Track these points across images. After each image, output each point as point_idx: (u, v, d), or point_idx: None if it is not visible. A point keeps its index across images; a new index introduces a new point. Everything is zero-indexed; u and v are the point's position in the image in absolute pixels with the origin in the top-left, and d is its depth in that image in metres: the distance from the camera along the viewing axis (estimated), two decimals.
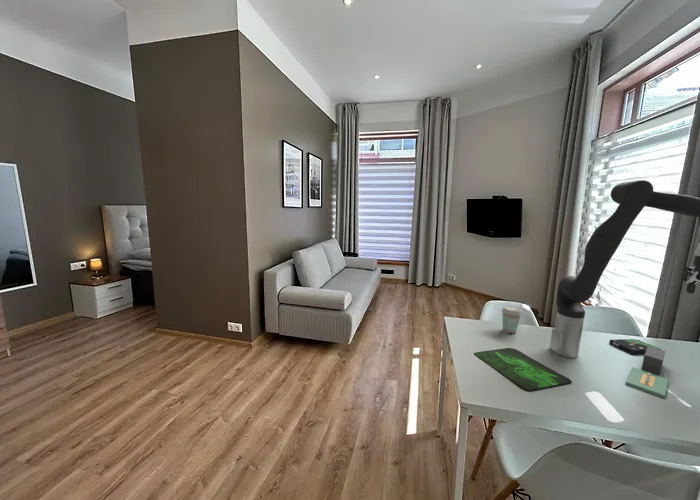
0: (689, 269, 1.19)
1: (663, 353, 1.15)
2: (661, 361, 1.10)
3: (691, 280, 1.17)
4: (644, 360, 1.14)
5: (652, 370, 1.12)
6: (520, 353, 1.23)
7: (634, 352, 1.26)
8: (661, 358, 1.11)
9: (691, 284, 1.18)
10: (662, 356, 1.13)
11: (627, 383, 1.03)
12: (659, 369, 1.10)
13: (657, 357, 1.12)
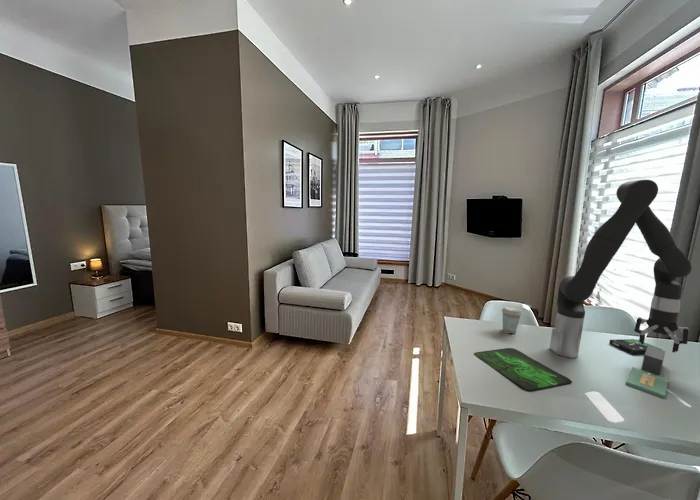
0: (641, 320, 1.17)
1: (663, 353, 1.15)
2: (661, 361, 1.10)
3: (646, 332, 1.16)
4: (644, 360, 1.14)
5: (652, 370, 1.12)
6: (520, 353, 1.23)
7: (634, 352, 1.26)
8: (661, 358, 1.11)
9: (644, 335, 1.17)
10: (662, 356, 1.13)
11: (627, 383, 1.03)
12: (659, 369, 1.10)
13: (657, 357, 1.12)
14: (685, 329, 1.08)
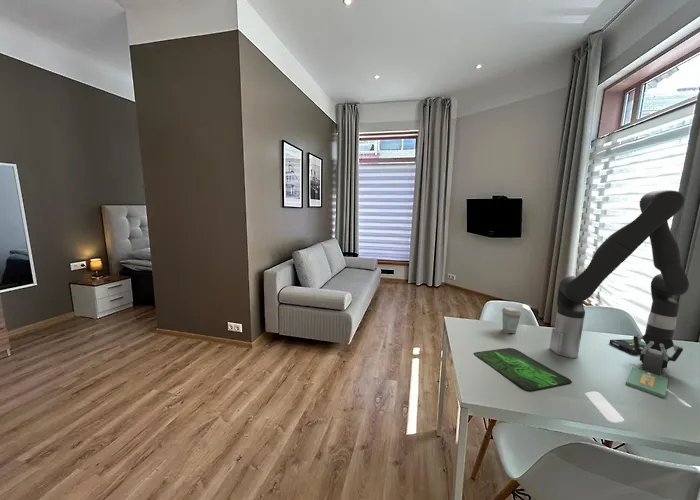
0: (637, 338, 1.18)
1: None
2: (661, 361, 1.10)
3: (646, 350, 1.16)
4: (644, 360, 1.14)
5: (652, 370, 1.12)
6: (520, 353, 1.23)
7: (634, 352, 1.26)
8: (661, 358, 1.11)
9: None
10: (662, 356, 1.13)
11: (627, 383, 1.03)
12: (659, 369, 1.10)
13: (657, 357, 1.12)
14: (680, 349, 1.09)
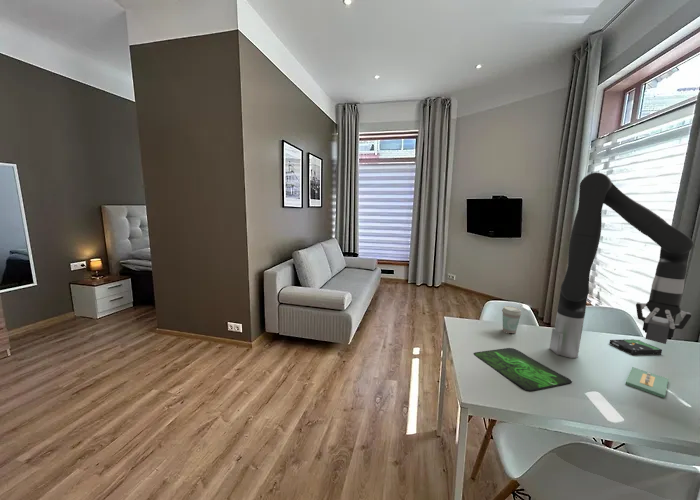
0: (640, 305, 1.07)
1: None
2: (667, 328, 0.99)
3: (650, 318, 1.05)
4: (648, 329, 1.02)
5: (657, 339, 1.01)
6: (520, 353, 1.23)
7: (634, 352, 1.26)
8: (667, 325, 1.00)
9: None
10: (668, 324, 1.02)
11: (627, 383, 1.03)
12: (665, 338, 1.00)
13: (663, 325, 1.01)
14: (688, 314, 0.98)
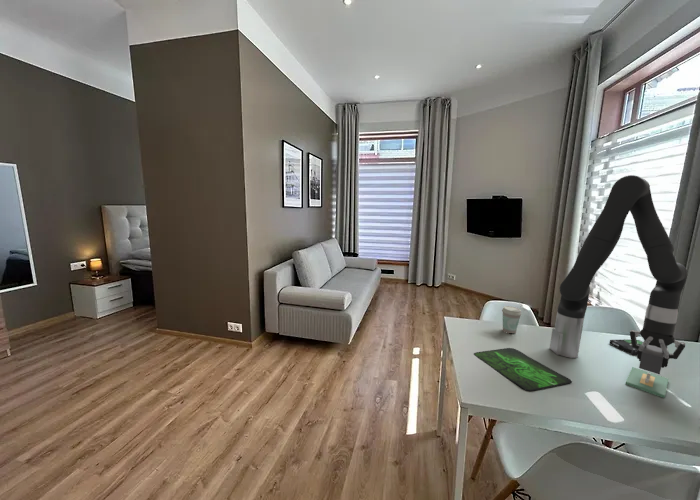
0: (634, 333, 1.06)
1: None
2: (661, 359, 0.98)
3: (644, 347, 1.04)
4: (642, 358, 1.01)
5: (651, 369, 1.00)
6: (520, 353, 1.23)
7: (634, 352, 1.26)
8: (661, 355, 0.99)
9: None
10: (662, 353, 1.01)
11: (627, 383, 1.03)
12: (659, 368, 0.98)
13: (656, 354, 1.00)
14: (682, 345, 0.97)
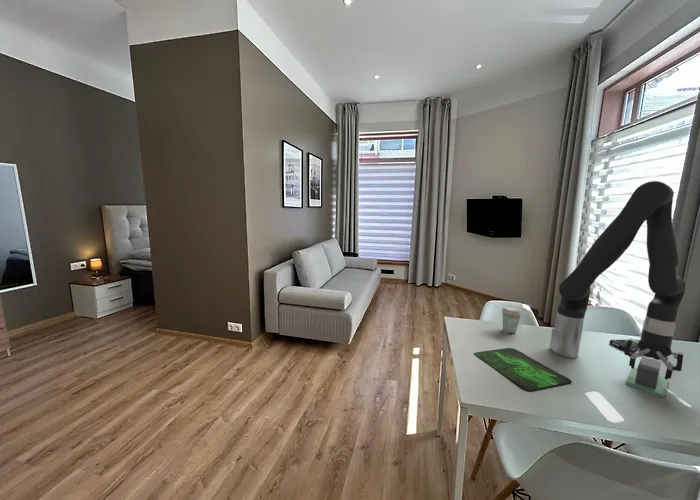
0: (631, 343, 1.07)
1: (659, 364, 1.04)
2: (656, 374, 0.99)
3: (637, 356, 1.06)
4: (638, 372, 1.02)
5: (647, 384, 1.01)
6: (520, 353, 1.23)
7: (634, 352, 1.26)
8: (656, 370, 1.00)
9: (635, 359, 1.07)
10: (657, 368, 1.02)
11: (627, 383, 1.03)
12: (654, 383, 0.99)
13: (652, 369, 1.01)
14: (679, 355, 0.98)
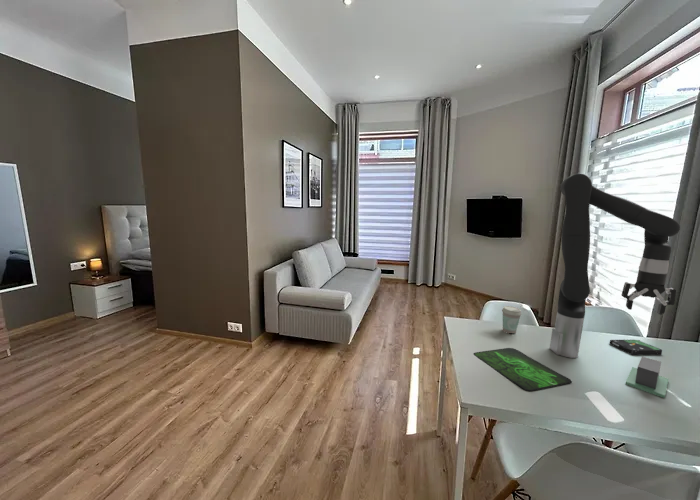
0: (630, 285, 1.13)
1: (659, 364, 1.04)
2: (656, 374, 0.99)
3: (635, 297, 1.12)
4: (638, 372, 1.02)
5: (647, 384, 1.01)
6: (520, 353, 1.23)
7: (634, 352, 1.26)
8: (656, 370, 1.00)
9: (632, 300, 1.13)
10: (657, 368, 1.02)
11: (627, 383, 1.03)
12: (654, 383, 0.99)
13: (652, 369, 1.01)
14: (673, 290, 1.07)
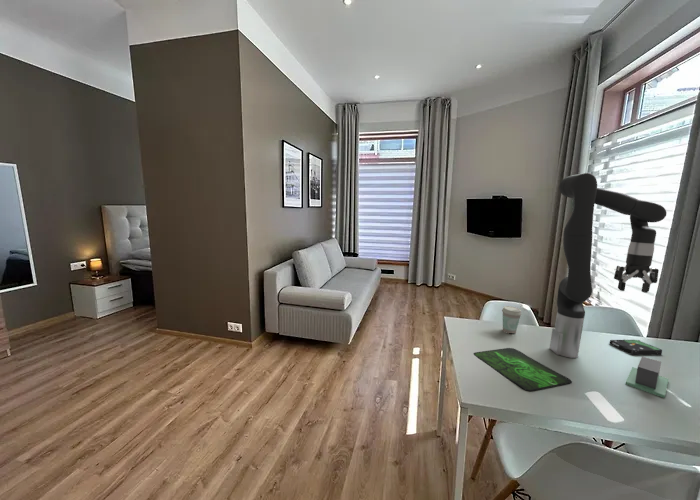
0: None
1: (659, 364, 1.04)
2: (656, 374, 0.99)
3: (627, 279, 1.21)
4: (638, 372, 1.02)
5: (647, 384, 1.01)
6: (520, 353, 1.23)
7: (634, 352, 1.26)
8: (656, 370, 1.00)
9: None
10: (657, 368, 1.02)
11: (627, 383, 1.03)
12: (654, 383, 0.99)
13: (652, 369, 1.01)
14: (656, 269, 1.19)
